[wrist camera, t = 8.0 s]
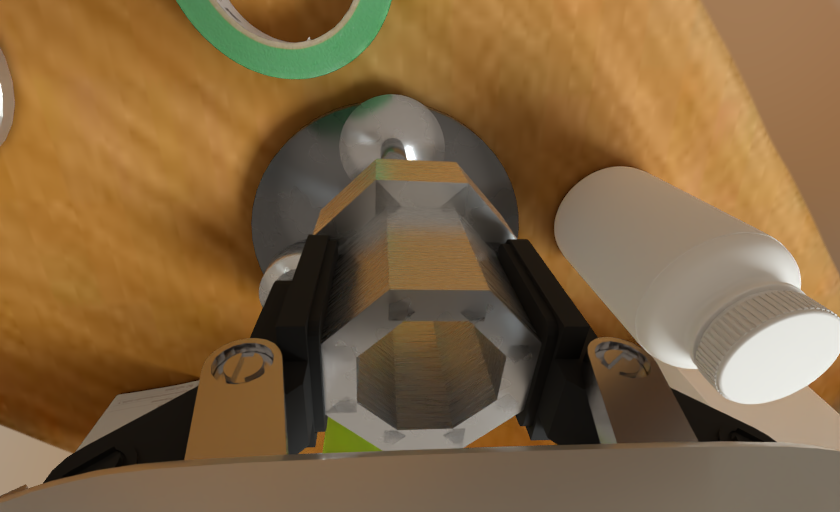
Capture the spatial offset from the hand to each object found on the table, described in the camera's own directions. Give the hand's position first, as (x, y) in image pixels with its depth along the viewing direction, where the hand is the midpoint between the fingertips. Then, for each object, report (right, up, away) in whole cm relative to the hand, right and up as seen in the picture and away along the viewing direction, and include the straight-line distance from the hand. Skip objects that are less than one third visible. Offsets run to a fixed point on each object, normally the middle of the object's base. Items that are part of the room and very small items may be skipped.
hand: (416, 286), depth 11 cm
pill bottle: (+14, +4, +19) cm, 23 cm away
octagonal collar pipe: (0, +1, +2) cm, 3 cm away
